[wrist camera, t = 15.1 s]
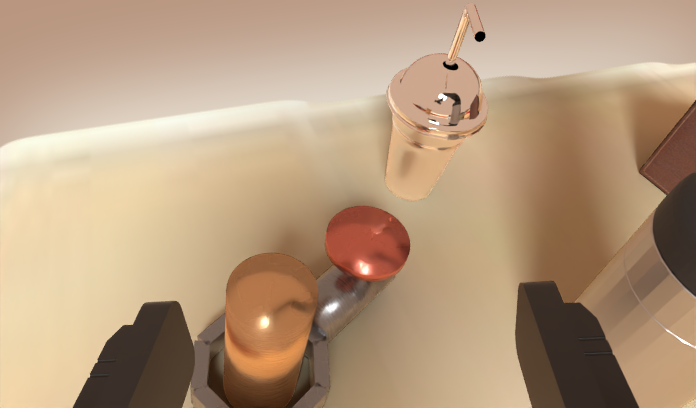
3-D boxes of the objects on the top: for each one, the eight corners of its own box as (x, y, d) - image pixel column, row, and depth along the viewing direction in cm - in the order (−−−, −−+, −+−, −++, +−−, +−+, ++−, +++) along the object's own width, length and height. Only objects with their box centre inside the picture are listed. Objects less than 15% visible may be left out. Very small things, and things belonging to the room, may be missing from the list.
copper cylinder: (260, 335, 44) (272, 238, 35) (310, 380, 42) (336, 291, 33) (208, 381, 41) (206, 289, 32) (259, 432, 39) (273, 350, 30)
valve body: (333, 239, 51) (347, 181, 45) (417, 306, 48) (443, 253, 42) (165, 379, 41) (157, 328, 35) (258, 475, 38) (265, 435, 32)
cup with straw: (465, 178, 58) (552, -8, 43) (425, 237, 52) (509, 46, 37) (390, 138, 60) (448, -54, 45) (344, 190, 54) (392, -9, 39)
